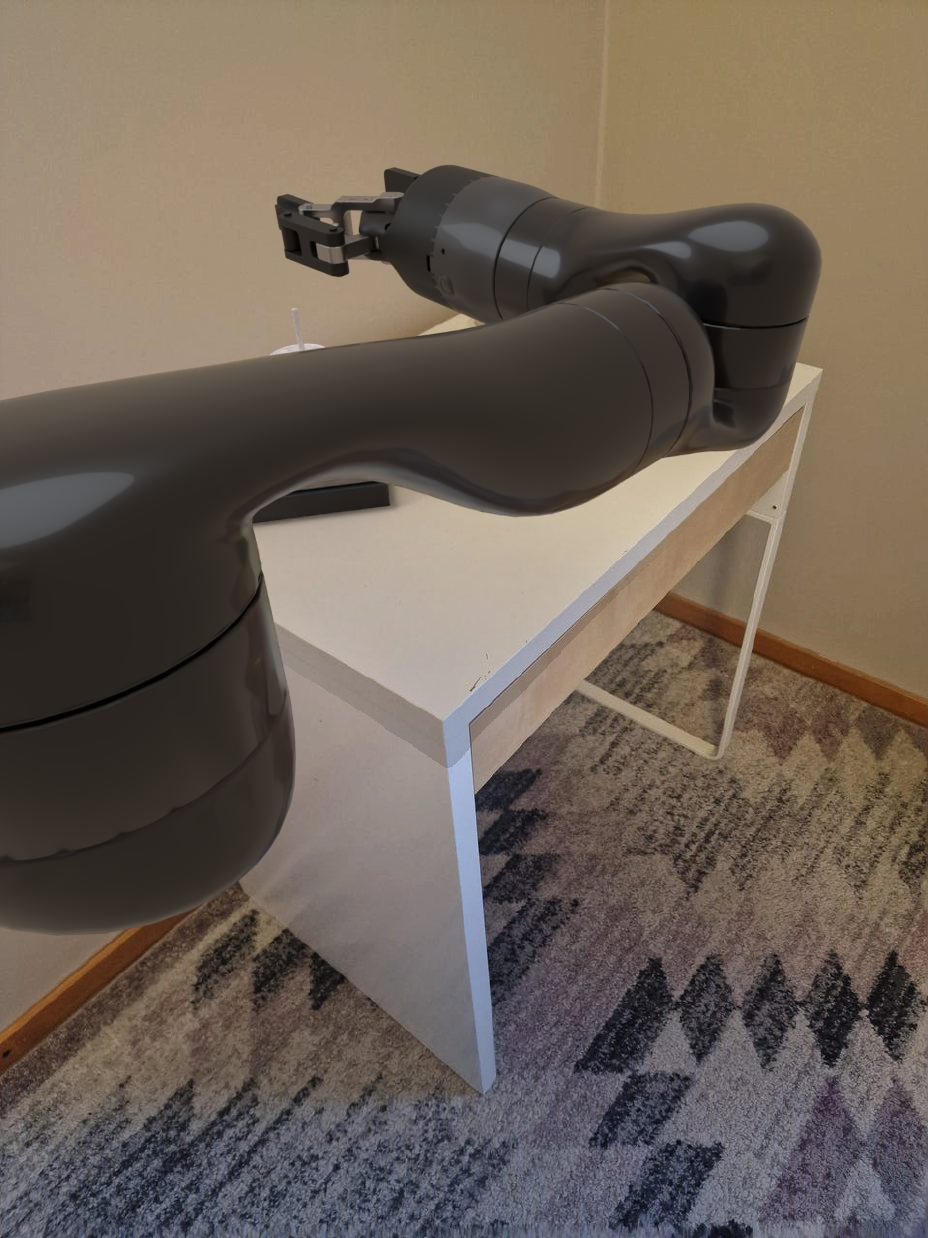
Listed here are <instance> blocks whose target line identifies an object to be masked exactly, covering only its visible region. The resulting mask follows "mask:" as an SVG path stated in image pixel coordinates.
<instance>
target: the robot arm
mask: <svg viewBox="0 0 928 1238" xmlns="http://www.w3.org/2000/svg"><path fill="white" fill-rule="evenodd" d="M383 181H384V190H385V191H383V192H381V193H380V194H379V195H341V196H340V197H338V198H337V199H336V200H335V201H334V202H332V203H314V202H312V201H310V200H309V201H308V200H307V199H303V198H300V197H298V196H295V195H292V194H290V193H285V194H281V195H278V196H277V197H276V204H274V209H275V215H276V221H277V225H278V229H279V230H280V231H281V237H282V241H283V242H282V243H283V251H284V257H285V259H286V260H289V261H292V262H293V263H297V264H300V265H302V266H304V267H307V268H310V269H313V270H314V271H318V272H320V273H322V274H325V275H327V276H331V277H335V278H342V277H345V276H347V275H349V274H350V266H349V261H350V260H354V261H355V260H358V261H359V260H360V261H375V262H381V263H382V264H384V265H386V266H387V265H388V266H389V265H390V266H392V267H393V269H394V270H395V271H396V273H397V275H398V276H399V278H400V279H401V280H402V281H403V283H404V284H405V285H406V286H407V287H408V288H409V290H411V291H412V292H413V293H415V294H416V295H418V296H420V297H422V298H424V299H426V300H429V301H431V302H434V303H436V304H438V305H440V306H443V307H445V308H447V309H450V310H451V311H454V312H457V313H458V314H461V315H463V316H466V317H468V318H470V319H473V320H475V321H477V322H480V323H482V324H480V325H475V326H471V327H465V328H460V329H456V330H455V329H454V330H450V331H442V332H436V333H430V334H422V335H414V336H413V335H412V336H404V337H395V338H387V339H379V340H370V341H363V342H362V341H361V342H355V343H347V344H346V343H345V344H340V345H339V344H338V345H332V346H325V347H324V348H317V349H310V350H303V351H296V352H289V353H283V354H276V355H270V354H269V355H264V356H257V357H251V358H245V359H239V360H234V361H227V362H222V363H216V364H209V365H204V366H197V367H191V368H189V367H188V368H183V369H175V370H169V371H163V372H157V373H156V372H155V373H149V374H142V375H137V376H130V377H125V378H124V377H123V378H118V379H112V380H106V381H100V382H94V383H87V384H81V385H75V386H68V387H61V388H57V389H50V390H45V391H41V392H35V393H30V394H25V395H20V396H15V397H10V398H6V399H0V928H2V929H5V930H9V931H13V932H14V931H15V932H23V933H32V934H40V935H49V936H79V935H82V936H83V935H103V934H104V935H105V934H110V933H116V932H120V931H125V930H130V929H135V928H140V927H146V926H150V925H153V924H154V925H155V924H156V923H159V922H162V921H164V920H168V919H170V918H173V917H176V916H178V915H182V914H185V913H187V912H190V911H192V910H194V909H197V908H198V907H200V906H202V905H203V904H205V903H206V902H208V901H210V900H212V899H214V898H215V897H217V896H219V895H221V894H222V893H224V892H226V891H228V890H230V889H231V888H232V887H233V886H235V884H237V883H238V882H239V881H240V880H241V879H243V877H245V876H246V875H247V874H248V873H250V871H252V869H254V868H255V867H256V866H257V865H258V864H259V863H260V862H261V860H262V859H263V858H264V857H265V856H266V855H267V853H268V852H269V850H270V849H271V847H272V846H273V844H274V843H275V841H276V840H277V838H278V836H279V835H280V833H281V830H282V829H283V825H284V823H285V820H286V819H287V815H288V813H289V810H290V808H291V805H292V801H293V796H294V792H295V787H296V769H297V768H296V766H297V765H296V764H297V748H296V730H295V729H296V728H295V721H294V713H293V707H292V706H293V705H292V700H291V695H290V689H289V684H288V680H287V676H286V670H285V666H284V662H283V657H282V653H281V648H280V643H279V638H278V634H277V630H276V625H275V620H274V615H273V611H272V606H271V602H270V597H269V592H268V587H267V584H266V579H265V574H264V572H263V569H262V568H263V567H262V566H263V565H262V561H261V555H260V550H259V546H258V543H257V542H258V541H257V538H256V533H255V530H254V526H253V523H252V518H253V516H254V515H255V513H257V512H258V511H259V510H260V509H262V508H263V507H265V506H266V505H268V504H270V503H271V502H273V501H275V500H276V499H278V498H280V497H283V496H285V495H287V494H289V493H291V492H293V491H296V490H299V489H301V488H304V487H307V486H310V485H312V484H316V483H319V482H324V481H329V480H335V479H351V478H352V479H366V480H371V481H376V482H381V483H386V484H387V485H391V486H396V487H400V488H402V489H406V490H409V491H412V492H416V493H419V494H423V495H426V496H430V497H433V498H435V499H438V500H441V501H443V502H447V503H450V504H452V505H455V506H458V507H462V508H466V509H469V510H472V511H473V510H474V511H477V512H481V513H483V514H489V515H495V516H502V517H503V516H504V517H508V518H509V517H511V518H528V517H529V518H530V517H531V518H532V517H540V516H548V515H554V514H558V513H561V512H566V511H567V510H571V509H573V508H576V507H579V506H582V505H585V504H587V503H589V502H590V501H593V500H595V499H597V498H599V497H600V496H602V495H604V494H605V493H607V492H609V491H611V490H613V489H614V488H616V487H617V486H619V485H620V484H622V483H624V482H625V481H627V480H628V479H630V478H632V477H633V476H635V475H637V474H639V473H640V472H642V471H644V470H645V469H646V468H648V467H650V466H651V465H653V464H655V463H657V462H658V461H660V460H661V459H667V458H673V457H679V456H680V457H681V456H687V455H692V454H693V455H694V454H699V453H708V452H709V453H710V452H711V453H712V452H715V453H716V452H730V451H731V452H732V451H737V450H742V449H745V448H747V447H750V446H752V445H754V444H755V443H757V442H758V441H759V440H760V439H761V438H762V437H763V436H764V435H766V434H767V432H768V431H769V430H770V429H771V427H772V426H773V425H774V423H775V422H776V421H777V419H778V418H779V416H780V414H781V412H782V410H783V408H784V405H785V403H786V400H787V398H788V394H789V391H790V388H791V383H792V379H793V376H794V372H795V368H796V366H797V362H798V358H799V354H800V351H801V347H802V343H803V340H804V336H805V333H806V330H807V325H808V322H809V318H810V314H811V311H812V308H813V304H814V302H815V298H816V296H817V295H816V294H817V290H818V287H819V283H820V279H821V275H822V267H823V256H822V249H821V246H820V244H819V241H818V239H817V237H816V236H815V235H814V233H813V231H812V230H811V229H810V227H809V226H808V225H807V224H806V223H805V222H804V221H803V220H802V219H801V218H799V217H798V216H796V215H795V214H794V213H792V212H791V211H790V210H788V209H785V208H783V207H780V206H777V205H773V204H768V203H760V202H740V203H739V202H738V203H727V204H719V205H712V206H705V207H699V208H693V209H685V210H680V211H674V212H673V211H672V212H663V213H650V214H649V213H648V214H642V213H641V214H638V213H623V212H617V211H611V210H606V209H601V208H598V207H594V206H590V205H588V204H584V203H579V202H575V201H572V200H568V199H565V198H561V197H559V196H556V195H554V194H552V193H550V192H548V191H547V190H544V189H542V188H540V187H538V186H535V185H531V184H529V183H525V182H521V181H517V180H513V179H510V178H506V177H503V176H499V175H495V174H491V173H487V172H483V171H479V170H475V169H472V168H468V167H465V166H460V165H455V164H443V165H437V166H435V167H432V168H430V169H428V170H426V171H425V172H423V173H421V174H420V173H417V172H412V171H410V170H406V169H401V168H400V167H396V166H395V167H390V168H386V169H384V171H383ZM351 211H353V212H355V211H357V212H359V211H360V217H359V224H358V233H355V234H354V229H353V221H352V215H351ZM321 218H323V219H330V220H331V221H332V223H329V222H325V221H321Z"/></svg>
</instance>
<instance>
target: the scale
mask: <svg viewBox="0 0 928 1238" xmlns="http://www.w3.org/2000/svg"><path fill="white" fill-rule="evenodd" d="M390 504H391V502H390V494H389V487H388V484H386V483H381V482H376V481H372V482H364V483H356V484H348V485H340V486H332V487H324V488H316V489H308V490H300V491H293V492H291V493H289V494H287V495H285V496H283V497H280V498H278V499H276V500H275V501H273V502H271V503H270V504H268V505H266V506H265V507H263V508H262V509H260V510H259V511H258V512H257V513H255V515H254V516H253V518H252V524H253V523H259V522H260V523H261V522H266V521H275V520H284V519H291V518H299V517H306V516H307V517H308V516H314V515H322V514H330V513H338V512H346V511H353V510H361V509H362V510H363V509H369V508H377V507H385V506H390Z"/></svg>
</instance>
